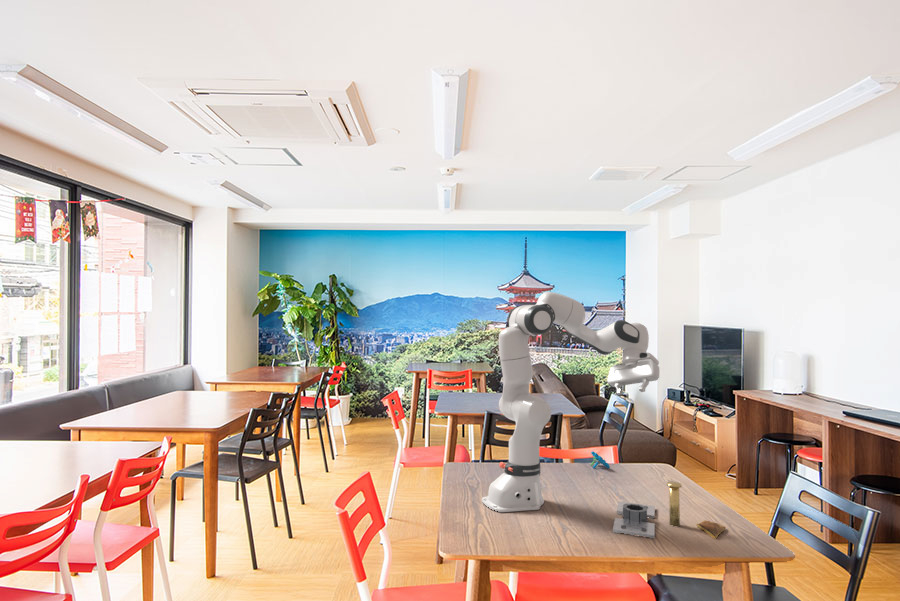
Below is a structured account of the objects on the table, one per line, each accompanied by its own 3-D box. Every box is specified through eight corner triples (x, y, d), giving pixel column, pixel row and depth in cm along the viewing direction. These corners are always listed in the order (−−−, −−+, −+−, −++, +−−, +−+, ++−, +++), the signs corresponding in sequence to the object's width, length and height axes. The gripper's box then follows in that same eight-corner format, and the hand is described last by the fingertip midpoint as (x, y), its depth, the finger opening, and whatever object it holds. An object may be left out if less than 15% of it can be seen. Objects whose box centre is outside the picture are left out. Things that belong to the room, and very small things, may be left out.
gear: (614, 467, 222) (597, 451, 223) (605, 477, 221) (589, 461, 222) (605, 464, 233) (589, 448, 234) (596, 473, 232) (580, 458, 233)
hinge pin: (675, 528, 160) (674, 486, 161) (664, 523, 164) (663, 482, 165) (685, 526, 162) (684, 484, 162) (674, 521, 166) (673, 480, 166)
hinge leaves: (654, 538, 152) (654, 525, 152) (612, 532, 156) (612, 519, 157) (654, 508, 177) (654, 497, 177) (618, 504, 181) (618, 492, 182)
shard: (715, 541, 151) (715, 535, 152) (689, 534, 157) (689, 528, 157) (726, 531, 159) (726, 525, 159) (701, 524, 165) (701, 518, 165)
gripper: (606, 361, 202) (601, 392, 195) (653, 352, 187) (650, 384, 180) (615, 369, 205) (611, 400, 197) (662, 361, 190) (660, 393, 182)
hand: (630, 392), depth 188 cm, fingers open, 8 cm apart
